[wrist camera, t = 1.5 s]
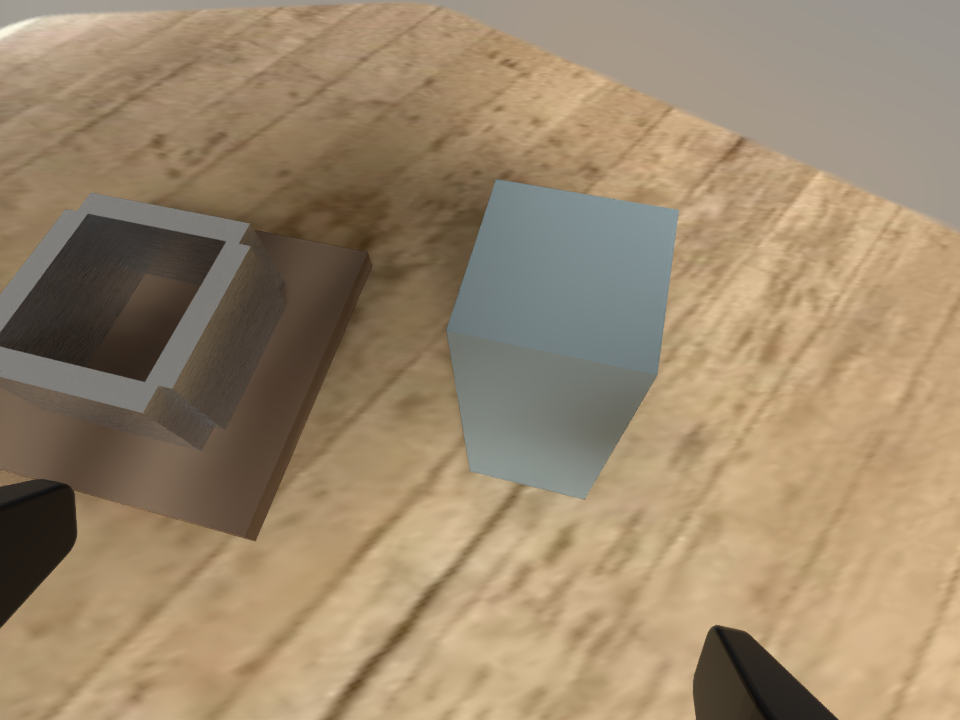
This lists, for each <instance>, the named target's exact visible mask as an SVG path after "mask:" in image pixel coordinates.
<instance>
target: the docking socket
mask: <svg viewBox="0 0 960 720" xmlns="http://www.w3.org/2000/svg"><path fill="white" fill-rule="evenodd" d="M371 267H372V264H371V261H370V258H369V255H368V252H364V251H359V250H354V249H349V248H344V247H339V246H333V245H328V244H323V243H318V242H313V241H308V240H303V239H298V238H293V237H287V236H282V235H277V234H272V233H267V232H262V231H257V230H254V229H253V228H252V226H251V224H250V223H245V222H240V221H235V220H230V219H225V218H220V217H214V216H209V215H204V214H199V213H194V212H189V211H183V210H178V209H173V208H168V207H163V206H158V205H152V204H147V203H142V202H137V201H132V200H127V199H122V198H116V197H111V196H106V195H101V194H96V193H90V194H89V196H88V197H87V198H86V200H85V201H84V202H83V204H82V205H81V206H80V208H79V209H78V210H77V211H73V210H68V209H65V211H64V212H63V213H62V215H61V216H60V217H59V219H58V220H57V221H56V223H55V224H54V225H53V226H52V228H51V229H50V230H49V232H48V233H47V234H46V236H45V237H44V238H43V240H42V241H41V242H40V243H39V245H38V246H37V247H36V249H35V250H34V251H33V253H32V254H31V255H30V257H29V258H28V259H27V260H26V262H25V263H24V264H23V266H22V267H21V268H20V270H19V271H18V272H17V274H16V275H15V276H14V277H13V279H12V280H11V281H10V283H9V284H8V285H7V287H6V288H5V289H4V291H3V292H2V293H1V294H0V470H4V471H7V472H11V473H14V474H18V475H21V476H25V477H29V478H32V479H47V480H51V481H56V482H61V483H65V484H68V485H69V486H71V488H72V489H73V490H75V491H78V492H82V493H85V494H89V495H93V496H96V497H100V498H103V499H107V500H110V501H114V502H117V503H121V504H125V505H128V506H132V507H135V508H139V509H142V510H146V511H149V512H153V513H157V514H160V515H164V516H167V517H171V518H174V519H178V520H181V521H185V522H189V523H192V524H196V525H199V526H203V527H206V528H210V529H213V530H217V531H221V532H224V533H228V534H231V535H235V536H238V537H242V538H245V539H249V540H253V541H256V539H257V536H258V534H259V532H260V529H261V527H262V524H263V522H264V520H265V517H266V515H267V513H268V510H269V508H270V506H271V503H272V501H273V498H274V496H275V494H276V491H277V489H278V487H279V484H280V482H281V480H282V477H283V475H284V472H285V470H286V468H287V465H288V463H289V461H290V458H291V456H292V454H293V451H294V449H295V446H296V444H297V442H298V439H299V437H300V435H301V432H302V430H303V428H304V425H305V423H306V420H307V418H308V416H309V413H310V411H311V409H312V406H313V404H314V402H315V399H316V397H317V394H318V392H319V390H320V387H321V385H322V383H323V380H324V378H325V376H326V373H327V371H328V368H329V366H330V364H331V361H332V359H333V357H334V354H335V352H336V349H337V347H338V345H339V342H340V340H341V338H342V335H343V333H344V331H345V328H346V326H347V323H348V321H349V319H350V316H351V314H352V312H353V309H354V307H355V305H356V302H357V300H358V297H359V295H360V293H361V290H362V288H363V286H364V283H365V281H366V279H367V276H368V274H369V271H370V269H371Z"/></svg>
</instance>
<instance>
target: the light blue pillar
mask: <svg viewBox="0 0 960 720" xmlns="http://www.w3.org/2000/svg"><path fill="white" fill-rule="evenodd" d="M678 212H679V210H675V209H670V208H664V207H658V206H652V205H646V204H640V203H634V202H628V201H622V200H616V199H611V198H605V197H599V196H593V195H587V194H581V193H575V192H569V191H563V190H557V189H552V188H546V187H540V186H534V185H528V184H522V183H516V182H510V181H504V180H499V179H496V181H495V184H494V187H493V190H492V193H491V196H490V199H489V202H488V205H487V208H486V211H485V214H484V217H483V220H482V224H481V227H480V230H479V233H478V236H477V239H476V242H475V245H474V248H473V251H472V254H471V257H470V260H469V263H468V266H467V269H466V272H465V275H464V278H463V281H462V284H461V287H460V290H459V293H458V296H457V300H456V303H455V306H454V309H453V312H452V315H451V318H450V321H449V324H448V327H447V330H446V331H447V337H448V343H449V349H450V355H451V361H452V367H453V373H454V379H455V385H456V391H457V396H458V402H459V408H460V414H461V420H462V426H463V432H464V438H465V444H466V450H467V456H468V462H469V467H470V471H471V472H475V473H479V474H483V475H487V476H491V477H495V478H499V479H503V480H507V481H511V482H515V483H520V484H524V485H528V486H532V487H536V488H540V489H544V490H548V491H552V492H556V493H560V494H564V495H568V496H572V497H576V498H580V499H585V498H586V496H587V494H588V493H589V491H590V489H591V488H592V486H593V484H594V482H595V481H596V479H597V477H598V476H599V474H600V472H601V470H602V469H603V467H604V465H605V464H606V462H607V460H608V458H609V457H610V455H611V453H612V452H613V450H614V448H615V447H616V445H617V443H618V441H619V440H620V438H621V436H622V435H623V433H624V431H625V429H626V428H627V426H628V424H629V423H630V421H631V419H632V417H633V416H634V414H635V412H636V411H637V409H638V407H639V406H640V404H641V402H642V400H643V399H644V397H645V395H646V394H647V392H648V390H649V388H650V387H651V385H652V383H653V382H654V380H655V378H656V376H657V374H658V366H659V358H660V351H661V343H662V335H663V328H664V320H665V312H666V305H667V297H668V289H669V281H670V274H671V266H672V258H673V251H674V243H675V235H676V228H677V220H678Z"/></svg>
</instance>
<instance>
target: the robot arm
mask: <svg viewBox="0 0 960 720" xmlns="http://www.w3.org/2000/svg"><path fill="white" fill-rule="evenodd" d="M76 538H77V521H76V507H75V494H74V491H73V489H72V488H71V486H69V485H68V484H65V483H61V482H56V481H51V480H47V479H36V480H31V481H26V482H21V483H16V484H12V485H7V486H2V487H0V628H1V627H2V626H3V625H4V624H5V623H6V622H7V620H8V619H9V618H10V617H11V616H12V615H13V614H14V613H15V612H16V611H17V609H18V608H19V607H20V606H21V605H22V604H23V603H24V602H25V601H26V600H27V598H28V597H29V596H30V595H31V594H32V593H33V592H34V591H35V590H36V589H37V587H38V586H39V585H40V584H41V583H42V582H43V581H44V580H45V579H46V578H47V576H48V575H49V574H50V573H51V572H52V571H53V570H54V569H55V568H56V567H57V565H58V564H59V563H60V562H61V561H62V560H63V559H64V558H65V557H66V556H67V554H68V553H69V552H70V551H71V549H72V548H73V546H74V544H75V541H76ZM693 698H694V706H695V715H696V720H839V719H837V718H836V717H835V716H834V715H833V714H832V713H831V712H830V711H829V710H828V709H827V708H826V707H825V706H824V705H823V704H822V703H821V702H820V701H819V700H818V699H817V698H815V697H814V696H813V695H812V694H811V693H810V692H809V691H808V690H807V689H806V688H805V687H804V686H803V685H802V684H801V683H800V682H799V681H798V680H797V679H796V678H795V677H794V676H792V675H791V674H790V673H789V672H788V671H787V670H786V669H785V668H784V667H783V666H782V665H781V664H780V663H779V662H778V661H777V660H776V659H775V658H774V657H773V656H772V655H771V654H769V653H768V652H767V651H766V650H765V649H764V648H763V647H762V646H761V645H760V644H759V643H758V642H757V641H756V640H755V639H754V638H753V637H752V636H751V635H749V634H748V633H747V632H745V631H743V630H738V629H734V628H729V627H724V626H720V625H715V626H713V627H711V629H710V630H709V631H708V634H707V636H706V639H705V643H704V646H703V649H702V652H701V655H700V658H699V661H698V665H697V668H696V671H695V674H694V680H693Z"/></svg>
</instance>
